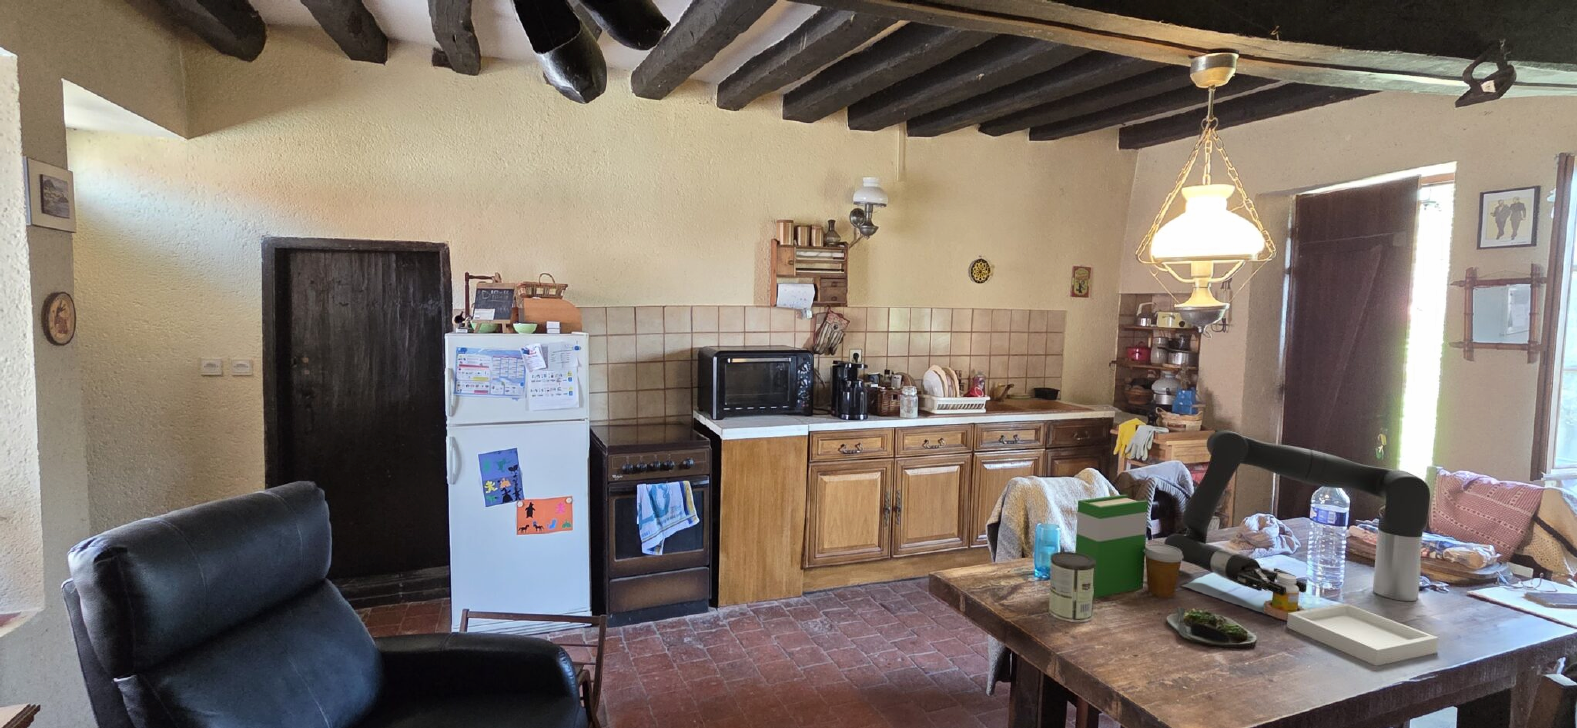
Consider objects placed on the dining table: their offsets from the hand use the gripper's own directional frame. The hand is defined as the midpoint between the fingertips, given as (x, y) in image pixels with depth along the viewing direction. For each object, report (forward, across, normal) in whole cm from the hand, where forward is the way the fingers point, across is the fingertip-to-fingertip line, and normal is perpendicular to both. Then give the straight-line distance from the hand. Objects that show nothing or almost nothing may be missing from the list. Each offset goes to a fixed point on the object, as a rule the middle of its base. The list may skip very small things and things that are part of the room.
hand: (1295, 589), depth 185 cm
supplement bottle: (-2, 0, +7) cm, 8 cm away
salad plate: (+1, -28, +8) cm, 29 cm away
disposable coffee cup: (-22, -19, +7) cm, 30 cm away
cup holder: (-2, 0, +7) cm, 7 cm away
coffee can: (-18, -52, +7) cm, 56 cm away
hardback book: (-29, -30, +7) cm, 43 cm away
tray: (+14, +3, +7) cm, 16 cm away
